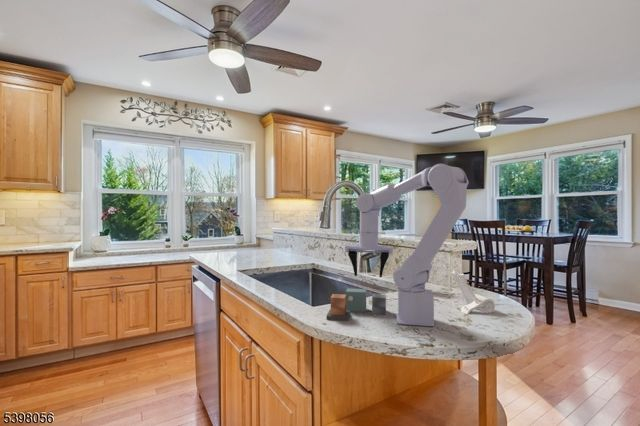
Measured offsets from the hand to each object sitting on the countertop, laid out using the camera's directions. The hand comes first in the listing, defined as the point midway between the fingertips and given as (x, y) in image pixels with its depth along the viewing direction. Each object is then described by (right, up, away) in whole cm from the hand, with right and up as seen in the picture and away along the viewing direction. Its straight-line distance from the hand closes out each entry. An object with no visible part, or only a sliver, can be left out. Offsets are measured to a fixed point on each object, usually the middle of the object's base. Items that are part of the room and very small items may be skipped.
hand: (368, 275), depth 100 cm
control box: (-4, -10, 0) cm, 11 cm away
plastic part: (+33, -11, 0) cm, 34 cm away
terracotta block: (-10, -10, -7) cm, 15 cm away
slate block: (+3, -11, -3) cm, 11 cm away
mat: (-10, -11, -7) cm, 16 cm away
